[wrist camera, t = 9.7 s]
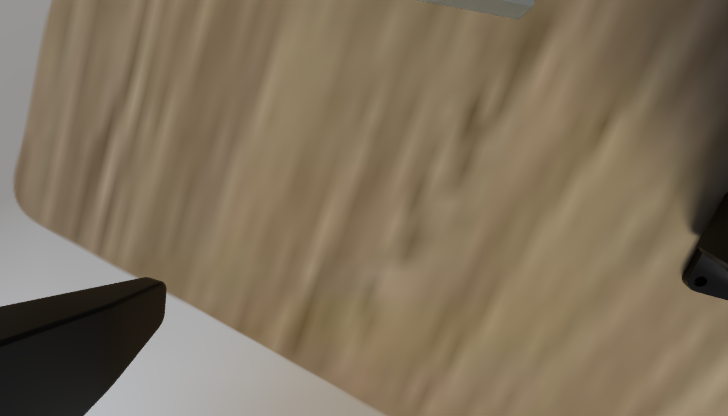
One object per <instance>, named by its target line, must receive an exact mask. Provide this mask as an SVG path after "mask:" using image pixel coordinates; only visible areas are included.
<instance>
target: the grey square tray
mask: <svg viewBox="0 0 728 416" xmlns="http://www.w3.org/2000/svg"><path fill="white" fill-rule="evenodd" d="M418 1H424V2H429V3H434V4H440V5H445V6H450V7H455V8H461V9H466V10H471V11H477V12H482V13H487V14H492V15H498V16H503V17H508V18H514V19H520V18H521V17H522V16H523V15H524V14H526V13H527V12H528V11H529V10H530V9H531V8H532V7H533V5H534V2H535V0H418Z"/></svg>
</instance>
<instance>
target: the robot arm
mask: <svg viewBox="0 0 728 416" xmlns="http://www.w3.org/2000/svg"><path fill="white" fill-rule="evenodd" d="M700 276H702V277H701V280H700V281H699V282H696V283H694V280H695V279H696V278H697V277H700ZM682 279H683V283H684V284H685V285H686V286H687V287H689V288H690V289H691V290H693V291H696V292H699V293H703V294H707V295H710V296H714V297H718V298H721V299H725V300H728V193H727V194H725V195H724V197H723V199H722V201H721V203H720V205H719V206H718V208H717V210H716V212H715V214H714V216H713V218H712V219H711V221H710V223H709V225H708V227H707V229H706V231H705V232H704V234H703V236H702V238H701V240H700V242H699V244H698V249H697V250H696V252H695V254H694V256H693V258H692V260H691V262H690V263H689V265H688V267H687V269H686V271H685V273H684V274H683V278H682ZM165 302H166V285H165V283H164V282H162V281H159V280H155V279H152V278H149V277H144V278H139V279H134V280H129V281H124V282H119V283H114V284H109V285H105V286H100V287H95V288H90V289H85V290H80V291H75V292H70V293H65V294H61V295H56V296H51V297H46V298H41V299H36V300H31V301H27V302H21V303H17V304H12V305H6V306H2V307H0V416H84V415H85V414H86V412H88V410H89V409H90V408H91V407H92V406H93V405H94V404H95V403H96V402H97V401H98V400H99V399H100V398H101V397H102V396H103V395H104V394H105V393H106V392H107V391H108V390H109V388H110V387H111V386H112V385H113V384H114V383H115V382H116V380H117V379H118V378H119V377H120V376H121V374H122V373H123V372H124V370H125V369H126V368H127V367H128V366H129V364H130V363H131V362H132V361H133V359H134V358H135V357H136V355H137V354H138V353H139V352H140V350H141V349H142V348H143V347H144V345H145V344H146V343H147V342H148V341H149V339H150V338H151V337H152V336H153V334H154V333H155V332H156V330H157V329H158V328H159V326H160V325H161V323H162V321H163V319H164V314H165Z"/></svg>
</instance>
